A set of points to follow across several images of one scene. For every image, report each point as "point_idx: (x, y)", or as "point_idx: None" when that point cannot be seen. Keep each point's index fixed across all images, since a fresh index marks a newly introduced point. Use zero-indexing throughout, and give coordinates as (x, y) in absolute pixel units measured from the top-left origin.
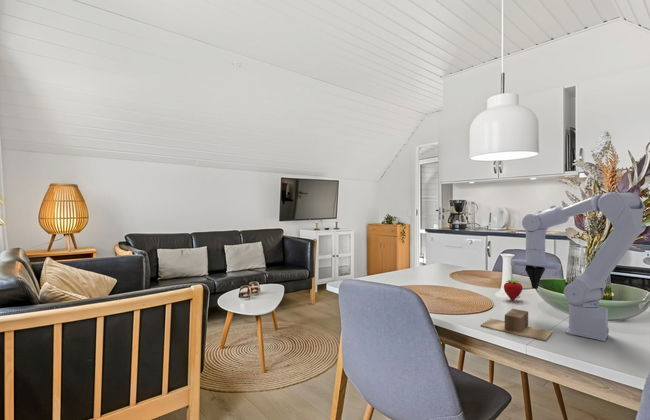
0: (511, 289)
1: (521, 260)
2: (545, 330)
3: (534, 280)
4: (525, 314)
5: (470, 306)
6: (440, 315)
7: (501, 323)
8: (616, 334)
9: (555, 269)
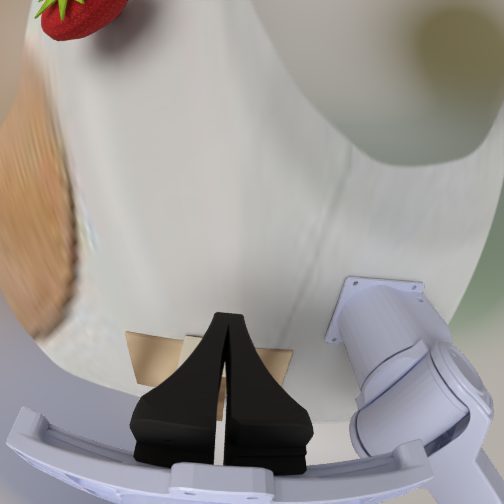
0: (80, 35)
1: (89, 489)
2: (275, 355)
3: (221, 372)
4: (224, 394)
5: (30, 231)
6: (47, 348)
7: (166, 359)
8: (441, 268)
9: (377, 460)
